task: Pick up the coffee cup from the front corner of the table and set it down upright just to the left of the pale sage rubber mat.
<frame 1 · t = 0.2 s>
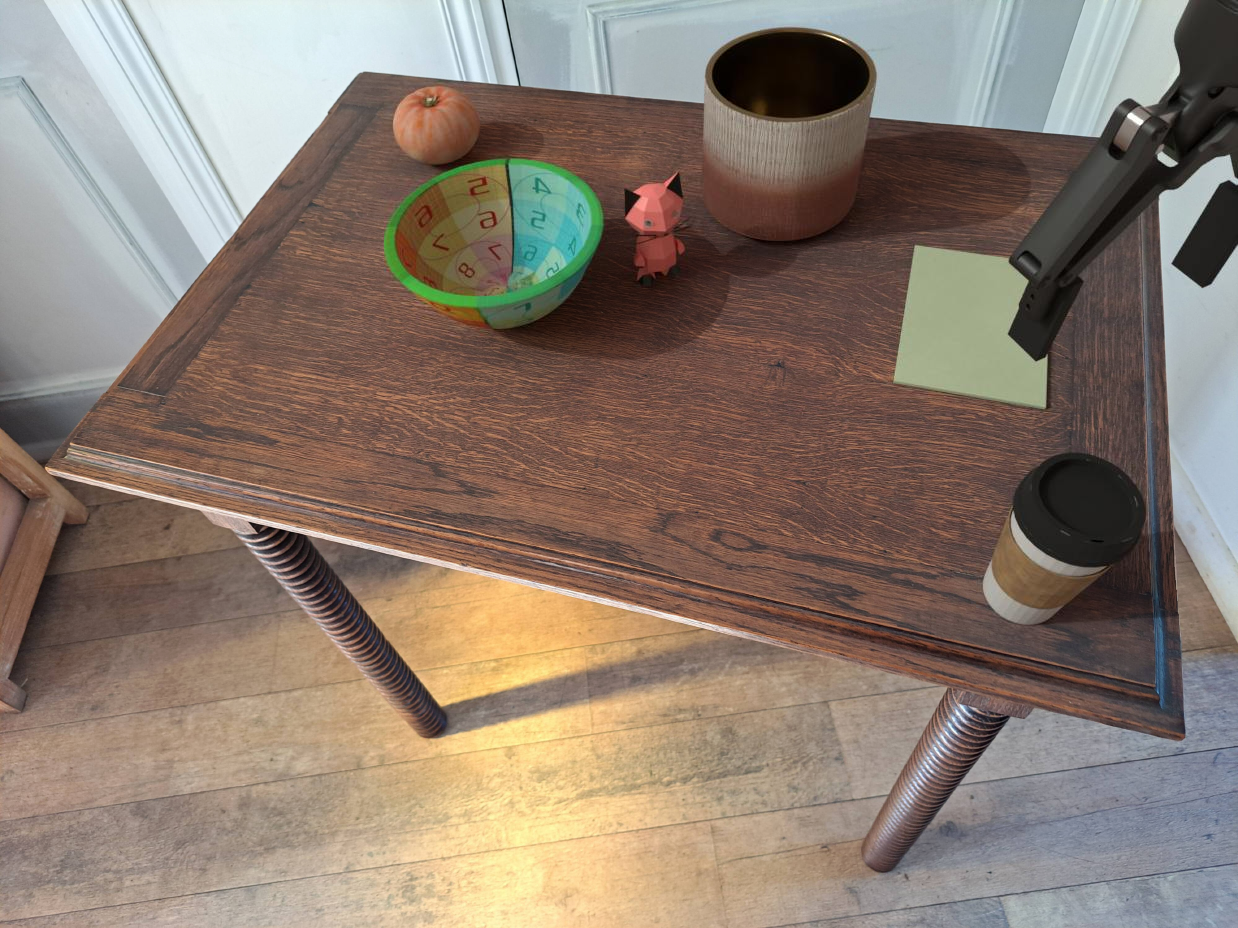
hand: (1110, 309, 56), 24 cm above the table, tool pointing down, fingers open, 13 cm apart
pumpkin: (444, 153, 110), on the table
coffee cup: (1019, 593, 71), on the table
sage mat: (974, 322, 88), on the table
bowl: (510, 299, 94), on the table
planter: (776, 198, 101), on the table
cat figurine: (656, 271, 95), on the table
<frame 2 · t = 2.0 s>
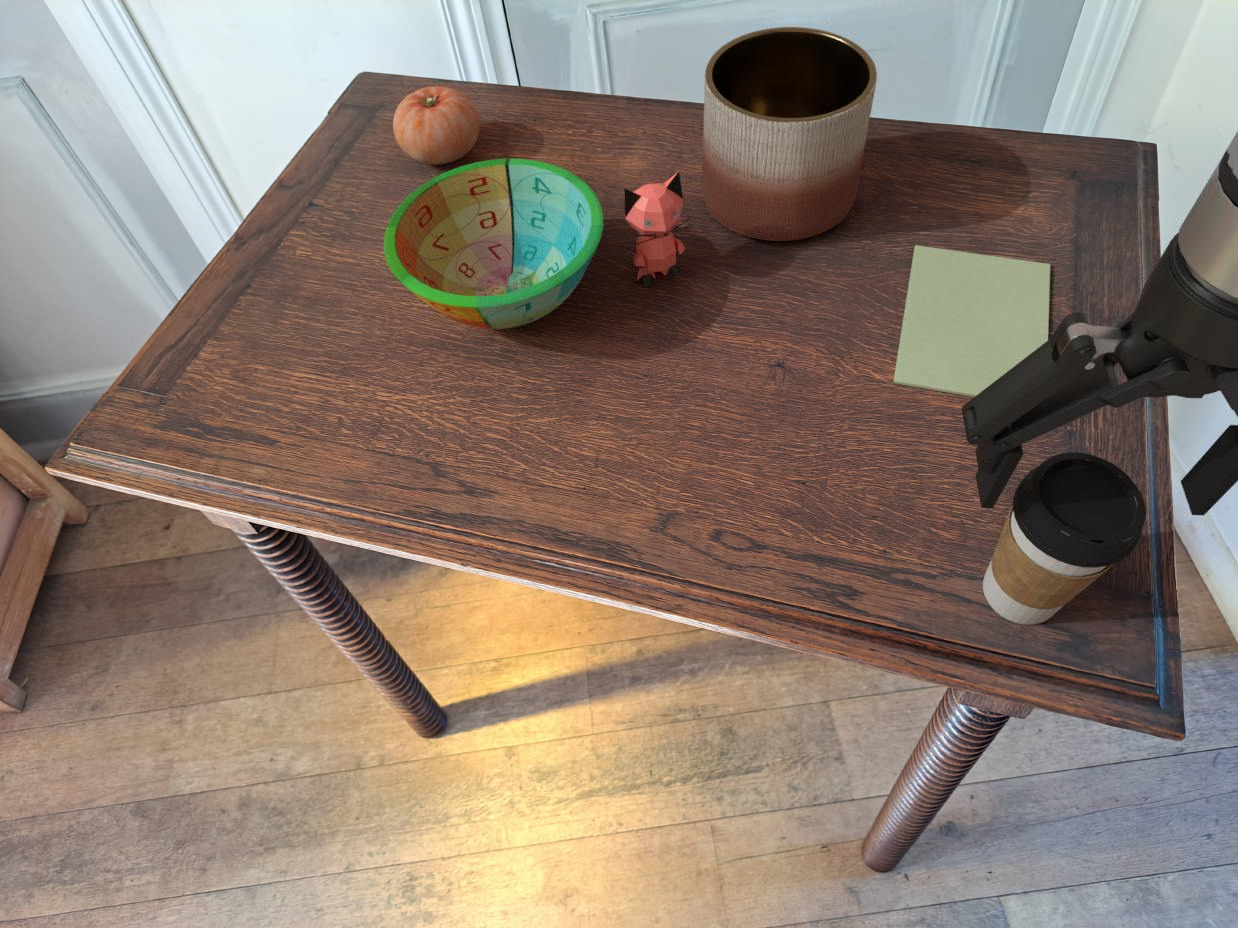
hand: (1086, 495, 59), 15 cm above the table, tool pointing down, fingers open, 13 cm apart
nothing on the table moved.
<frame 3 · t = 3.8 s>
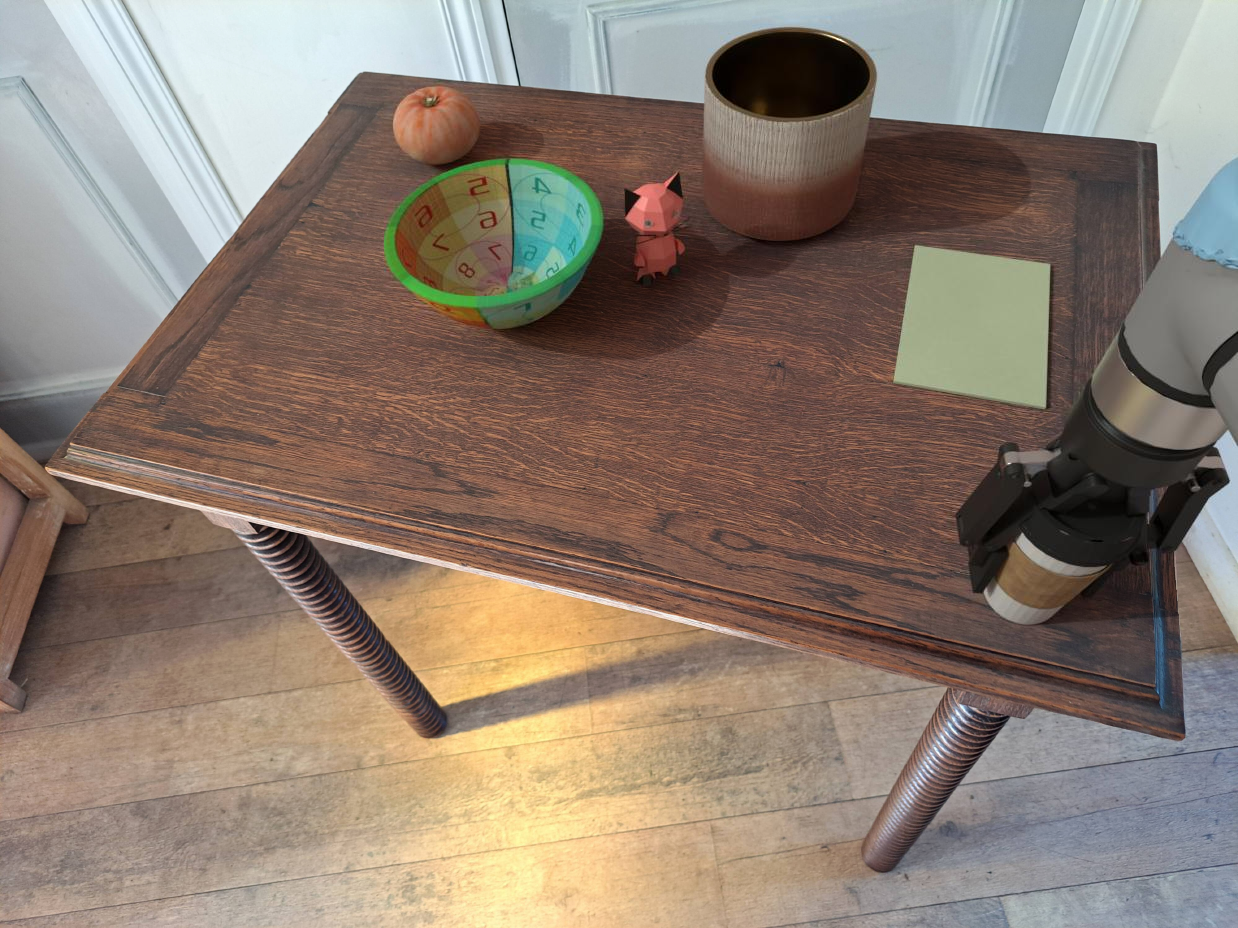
hand: (1028, 579, 69), 2 cm above the table, tool pointing down, fingers closed on coffee cup, 8 cm apart
coffee cup: (1019, 593, 71), on the table, touching gripper
everything else where it was.
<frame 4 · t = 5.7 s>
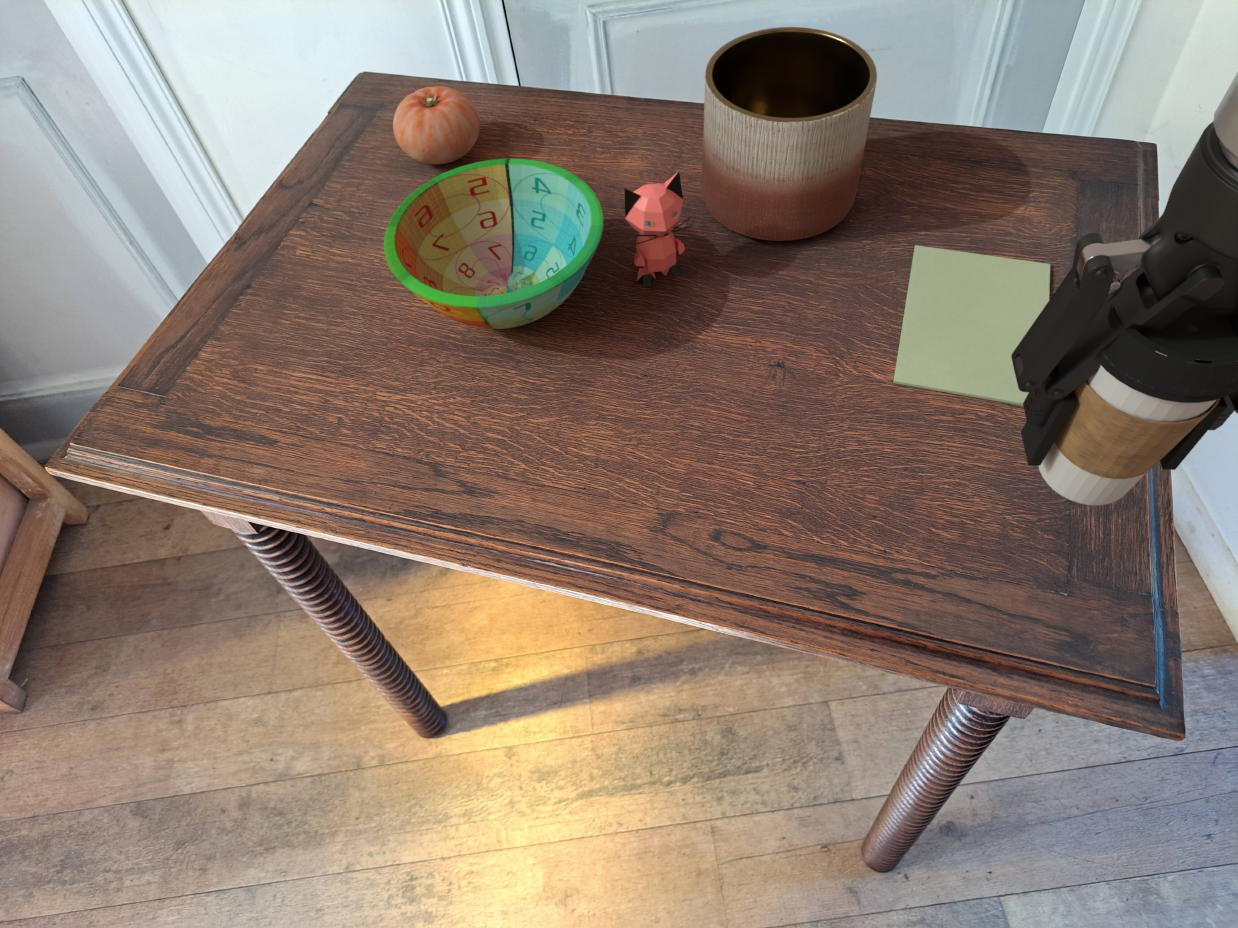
hand: (1096, 450, 56), 19 cm above the table, tool pointing down, fingers closed on coffee cup, 8 cm apart
coffee cup: (1082, 470, 58), point 16 cm above the table, touching gripper
everything else where it was.
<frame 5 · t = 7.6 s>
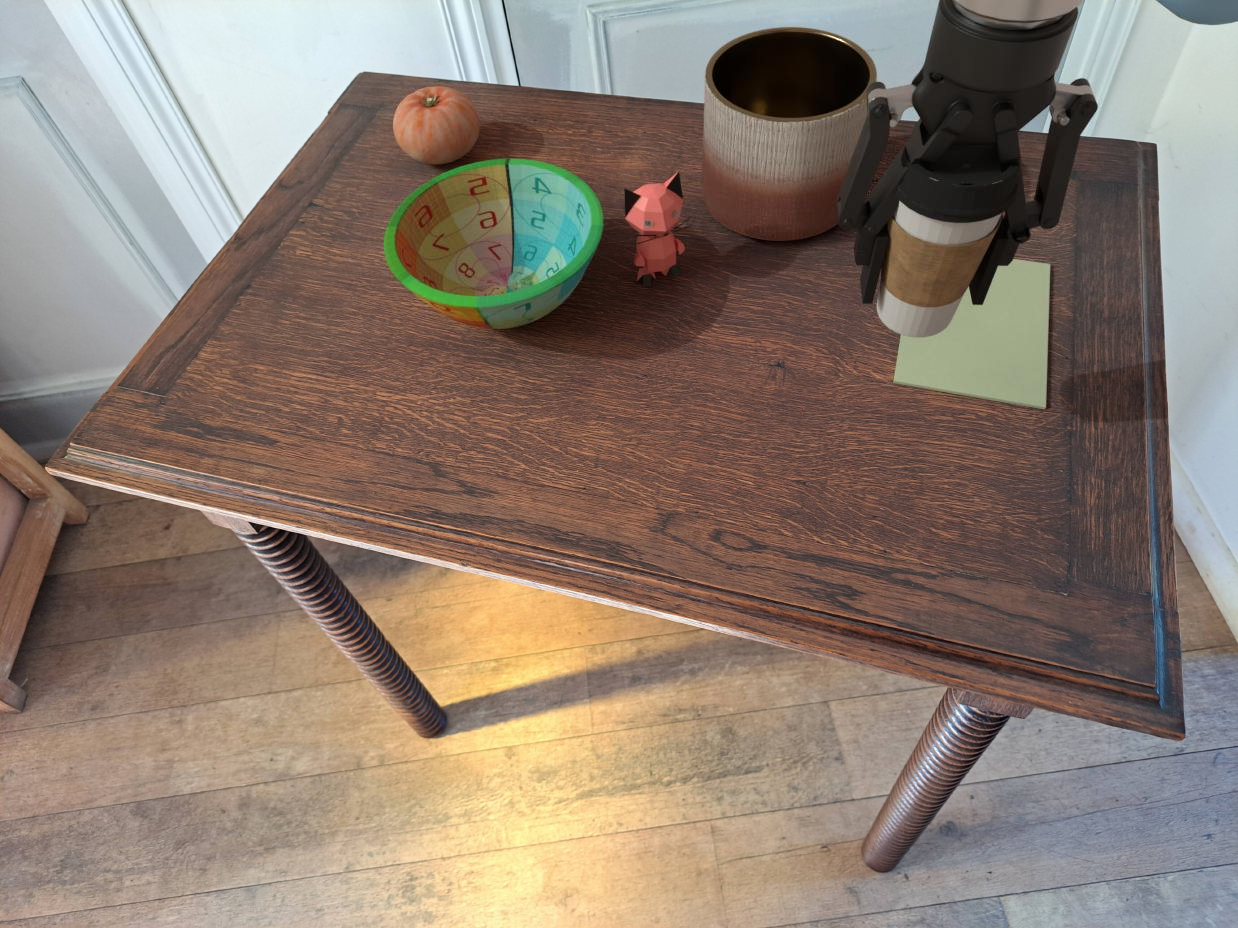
hand: (920, 291, 67), 17 cm above the table, tool pointing down, fingers closed on coffee cup, 8 cm apart
coffee cup: (913, 312, 69), point 15 cm above the table, touching gripper
everything else where it was.
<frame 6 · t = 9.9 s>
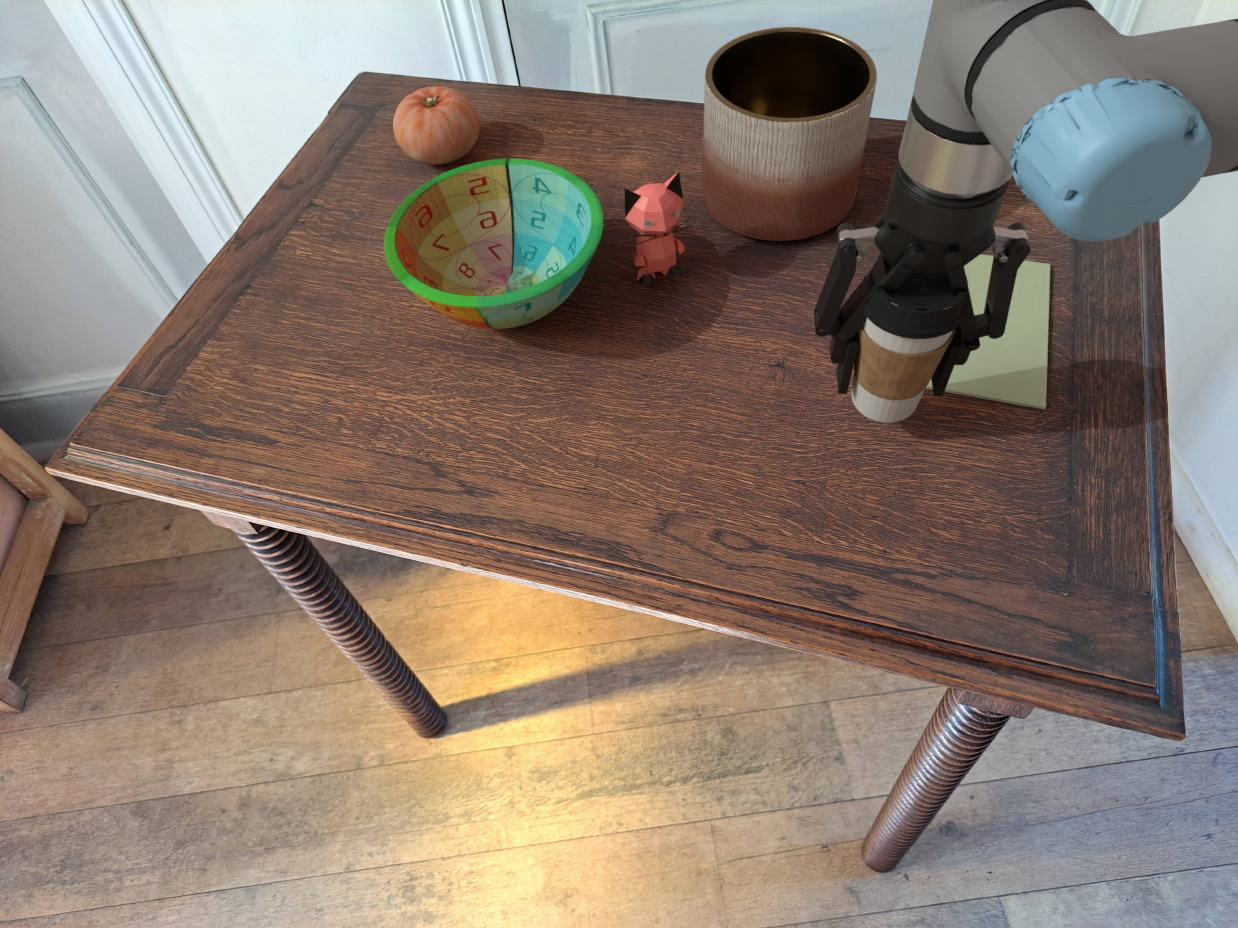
hand: (888, 383, 77), 6 cm above the table, tool pointing down, fingers closed on coffee cup, 8 cm apart
coffee cup: (883, 399, 78), point 3 cm above the table, touching gripper
everything else where it was.
when the fingers open (2 cm above the table, at t = 11.3 s): coffee cup stays where it is, on the table.
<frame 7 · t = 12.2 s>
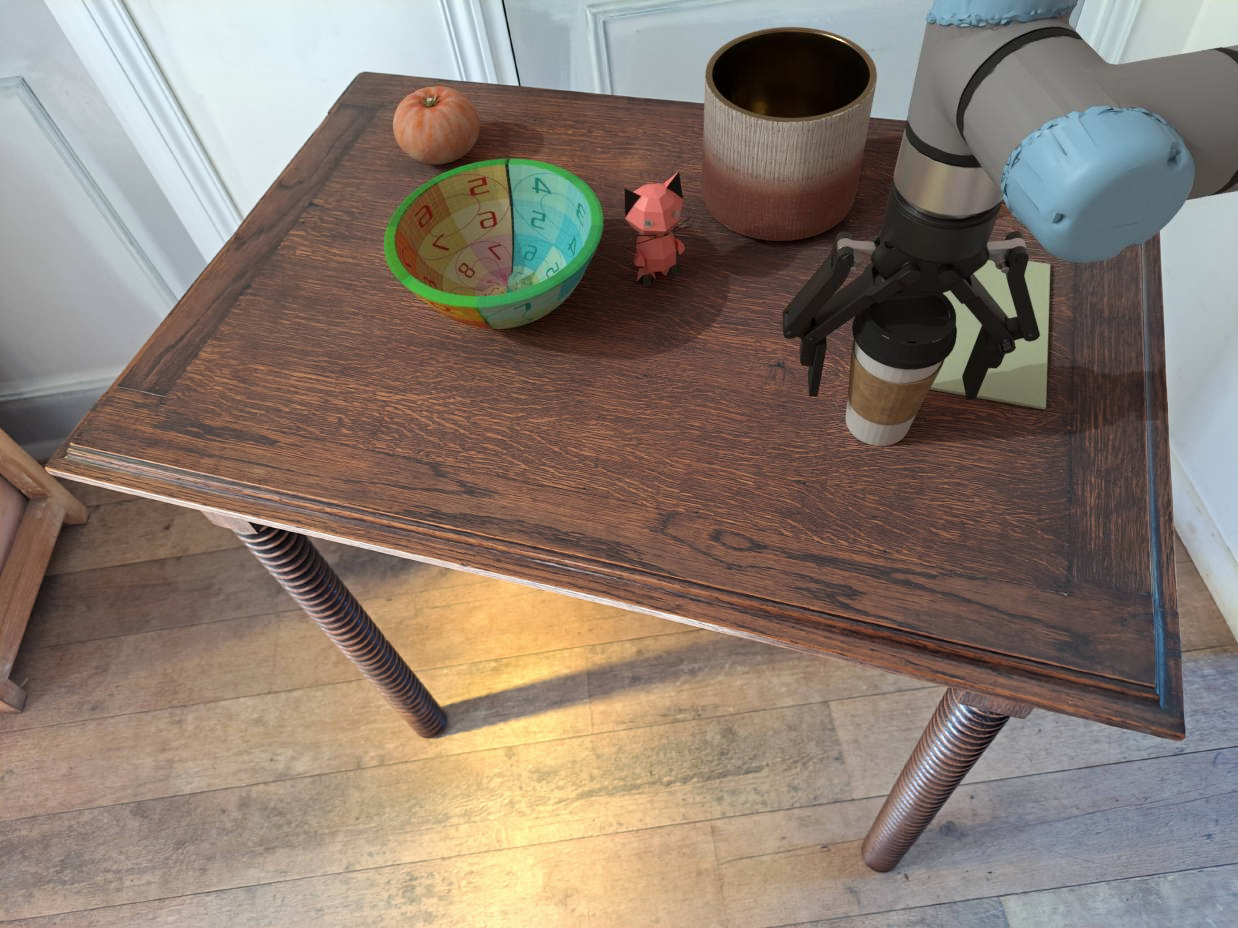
hand: (889, 386, 76), 6 cm above the table, tool pointing down, fingers open, 13 cm apart
coffee cup: (876, 422, 81), on the table
everything else where it was.
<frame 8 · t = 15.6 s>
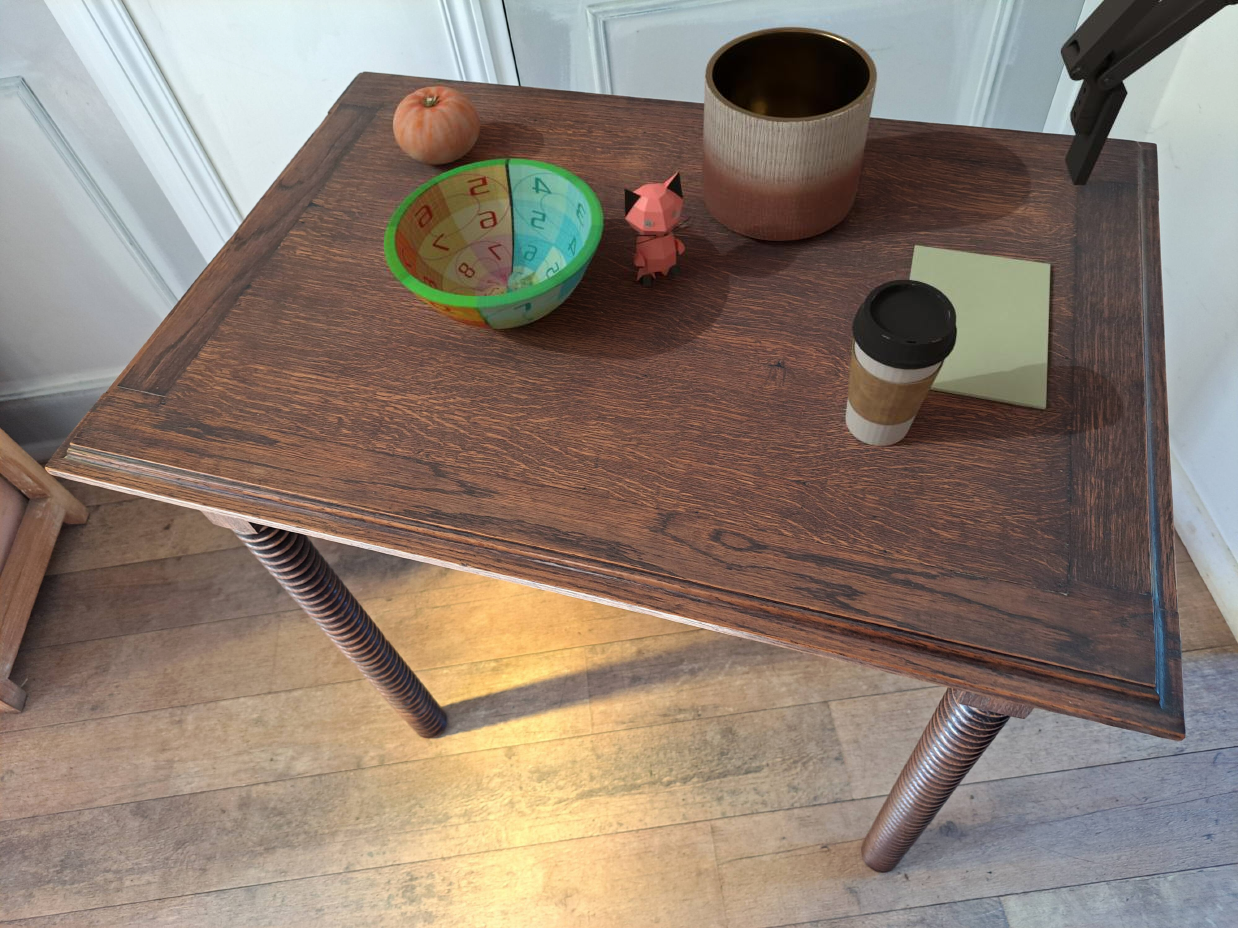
hand: (1184, 172, 56), 29 cm above the table, tool pointing down, fingers open, 13 cm apart
nothing on the table moved.
at the end: coffee cup inside the target area on the table beside the sage mat (0.1 cm from its centre), on the table; coffee cup tilted 0°; the gripper is holding nothing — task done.
